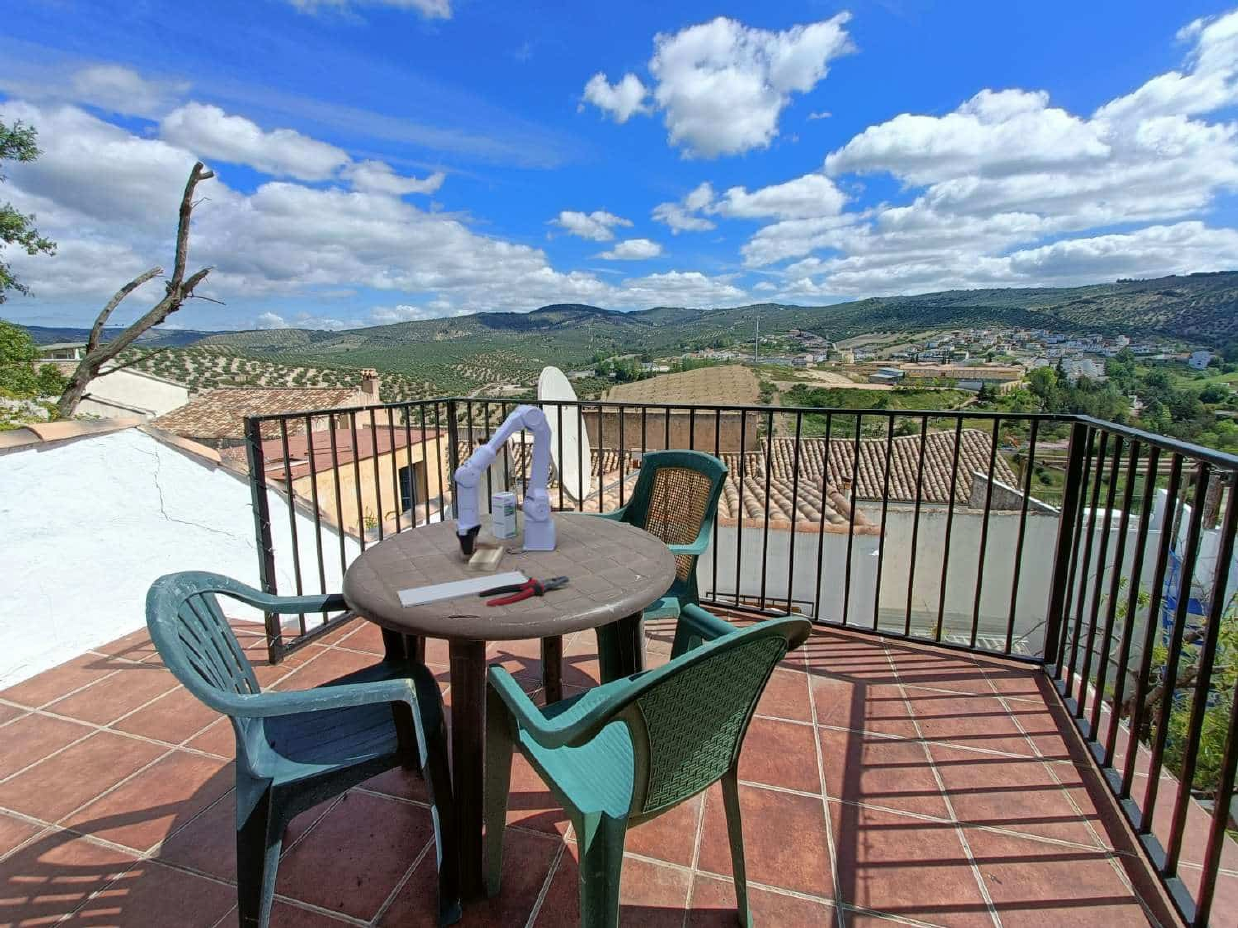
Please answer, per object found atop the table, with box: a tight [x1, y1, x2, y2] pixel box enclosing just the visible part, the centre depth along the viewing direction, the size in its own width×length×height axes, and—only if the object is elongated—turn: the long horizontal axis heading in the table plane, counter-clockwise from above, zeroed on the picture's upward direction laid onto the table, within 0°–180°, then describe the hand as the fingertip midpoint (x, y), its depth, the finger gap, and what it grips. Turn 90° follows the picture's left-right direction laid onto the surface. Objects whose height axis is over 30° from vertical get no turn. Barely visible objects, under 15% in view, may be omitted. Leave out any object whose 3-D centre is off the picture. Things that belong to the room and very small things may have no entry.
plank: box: [468, 546, 505, 572], centre depth 163 cm, size 7×14×2 cm, turn 1°
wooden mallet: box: [459, 536, 501, 560], centre depth 168 cm, size 11×4×6 cm, turn 91°
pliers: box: [478, 575, 570, 607], centre depth 141 cm, size 3×9×22 cm
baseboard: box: [396, 566, 529, 609], centre depth 144 cm, size 31×3×12 cm
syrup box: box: [491, 491, 518, 540], centre depth 189 cm, size 6×6×14 cm
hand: (469, 552), depth 168 cm, fingers open, 4 cm apart
